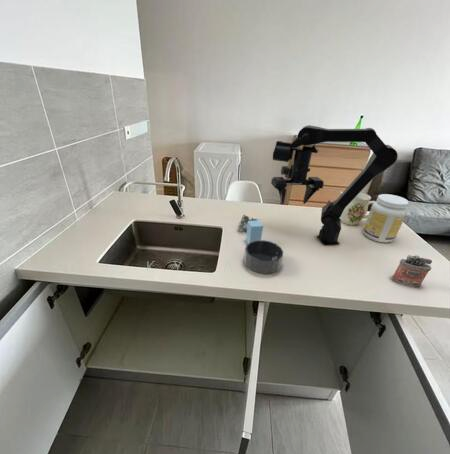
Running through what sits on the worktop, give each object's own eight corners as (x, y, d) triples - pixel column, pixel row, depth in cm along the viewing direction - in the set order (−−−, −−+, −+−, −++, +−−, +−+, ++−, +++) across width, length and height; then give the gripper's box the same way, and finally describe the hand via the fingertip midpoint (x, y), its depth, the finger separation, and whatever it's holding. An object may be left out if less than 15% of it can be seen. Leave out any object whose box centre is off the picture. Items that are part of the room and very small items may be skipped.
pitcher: (375, 229, 108) (388, 200, 101) (334, 225, 110) (343, 196, 102) (366, 218, 117) (377, 191, 110) (328, 214, 119) (336, 188, 112)
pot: (273, 253, 88) (276, 239, 85) (285, 275, 78) (288, 260, 75) (240, 255, 87) (242, 241, 84) (248, 277, 76) (250, 262, 73)
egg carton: (243, 221, 109) (243, 213, 107) (259, 224, 107) (260, 216, 105) (236, 232, 100) (236, 223, 98) (253, 236, 98) (254, 227, 96)
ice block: (256, 240, 96) (258, 220, 91) (260, 246, 92) (263, 225, 87) (245, 241, 95) (247, 221, 90) (249, 247, 91) (251, 226, 86)
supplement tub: (389, 231, 107) (405, 195, 98) (398, 246, 97) (417, 207, 88) (359, 227, 109) (372, 191, 101) (365, 240, 99) (380, 202, 90)
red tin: (392, 282, 78) (405, 257, 72) (390, 275, 80) (402, 251, 75) (421, 289, 75) (437, 263, 70) (418, 282, 78) (433, 257, 73)
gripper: (315, 158, 96) (306, 195, 104) (269, 158, 93) (264, 196, 101) (329, 166, 87) (318, 206, 95) (279, 166, 84) (272, 207, 92)
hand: (293, 203), depth 96 cm, fingers open, 9 cm apart
